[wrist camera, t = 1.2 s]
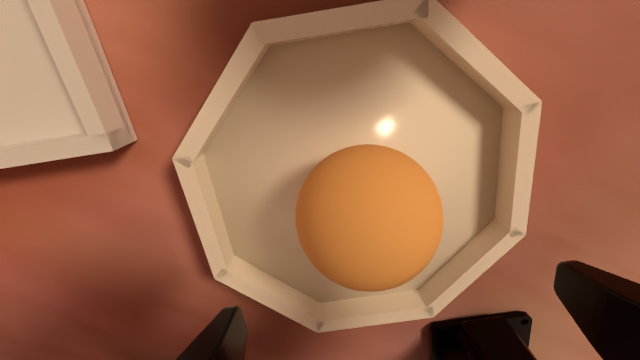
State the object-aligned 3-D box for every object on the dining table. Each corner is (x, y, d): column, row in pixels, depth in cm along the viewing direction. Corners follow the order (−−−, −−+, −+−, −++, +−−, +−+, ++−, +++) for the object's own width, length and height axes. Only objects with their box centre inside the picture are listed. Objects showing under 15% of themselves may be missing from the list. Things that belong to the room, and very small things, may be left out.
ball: (417, 229, 17) (470, 316, 11) (308, 244, 17) (306, 337, 11) (413, 120, 14) (477, 160, 9) (288, 140, 15) (273, 191, 9)
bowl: (495, 279, 19) (517, 306, 17) (244, 313, 20) (236, 343, 17) (519, -16, 13) (557, -30, 11) (158, 45, 14) (131, 42, 12)
